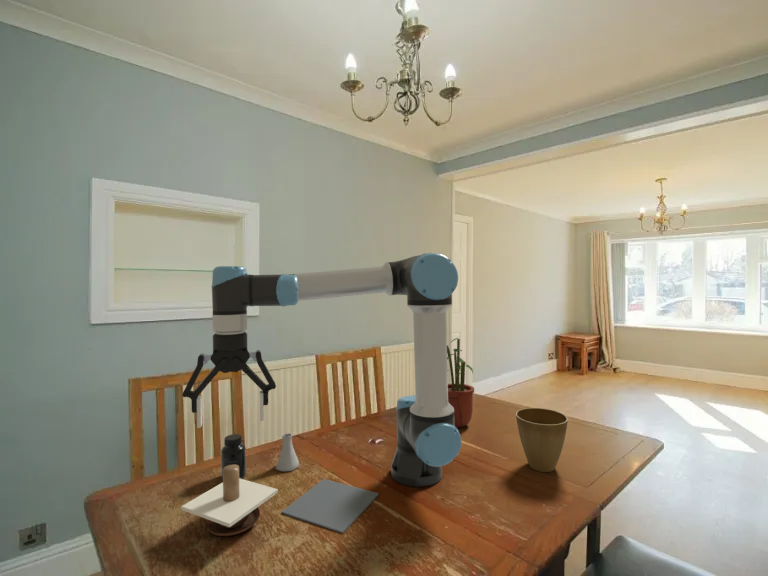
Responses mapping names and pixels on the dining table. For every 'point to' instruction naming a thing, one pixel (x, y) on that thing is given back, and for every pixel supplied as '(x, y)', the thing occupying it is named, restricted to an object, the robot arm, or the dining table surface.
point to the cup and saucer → (234, 529)
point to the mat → (331, 505)
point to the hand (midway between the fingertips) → (231, 422)
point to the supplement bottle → (234, 454)
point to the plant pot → (542, 436)
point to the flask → (287, 455)
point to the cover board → (229, 508)
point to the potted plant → (460, 390)
